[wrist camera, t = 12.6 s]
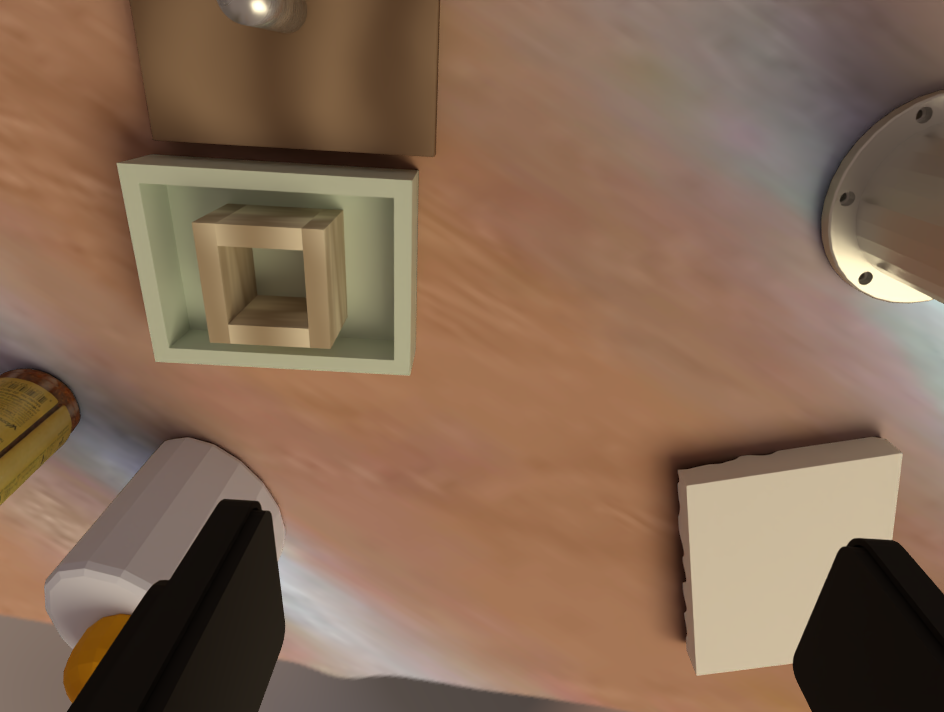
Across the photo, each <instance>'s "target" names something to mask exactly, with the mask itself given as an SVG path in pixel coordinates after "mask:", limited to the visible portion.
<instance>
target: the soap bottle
mask: <svg viewBox="0 0 944 712" xmlns="http://www.w3.org/2000/svg"><path fill="white" fill-rule="evenodd" d="M223 499H235V500H251V501H259V503H260V504H261V507H262V510H266V511H270V512H271V514H272V520H273V528H274V536H275V545H276V553H277V561H278V560H279V558H280V555H281V553H282V550H283V545H284V540H285V534H286V531H285V527H284V523H283V520H282V516H281V513H280V509H279V506H278V505H277V503H276V502H275V500H274V499H273V497H272V496H271V494H270V492H269V491H268V489H267V488H266V486H265V485H264V483H263V482H262V481H261V480H260V479H259V478H258V477H257V476H256V475H255V474H254V473H253V472H252V471H251V470H250V469H249V468H248V467H247V466H246V465H245V464H243V463H242V462H241V461H240V460H239V459H237V458H235V457H234V456H232V455H231V454H229V453H227V452H226V451H224V450H222V449H221V448H219V447H218V446H216V445H214V444H211V443H208V442H204V441H201V440H197V439H194V438H190V437H185V438H178V439H171V440H167V441H164V442H163V444H162V445H161V446H160V447H159V448H158V449H157V450H156V451H155V452H154V453H153V454H152V456H151V457H150V458H149V459H148V460H147V462H146V463H145V464H144V465H143V466H142V467H141V469H140V470H139V471H138V472H137V473H136V474H135V476H134V477H133V478H132V479H131V480H130V481H129V483H128V484H127V485H126V486H125V487H124V489H123V490H122V491H121V492H120V493H119V494H118V496H117V497H116V498H115V499H114V500H113V501H112V503H111V504H110V505H109V506H108V507H107V509H106V510H105V511H104V512H103V513H102V514H101V516H100V517H99V518H98V519H97V520H96V521H95V523H94V524H93V525H92V526H91V527H90V529H89V530H88V531H87V532H86V533H85V534H84V536H83V537H82V538H81V539H80V540H79V541H78V543H77V544H76V545H75V546H74V547H73V549H72V550H71V551H70V552H69V553H68V554H67V556H66V557H65V558H64V559H63V560H62V561H61V563H60V564H59V565H58V566H57V567H56V568H55V570H54V571H53V572H52V573H51V574H50V576H49V577H48V578H47V579H46V582H45V586H44V588H45V608H46V611H47V613H48V615H49V617H50V618H51V620H52V622H53V624H54V626H55V627H56V629H57V631H58V633H59V635H60V637H61V638H62V639H63V640H64V641H65V642H66V643H67V644H68V645H69V646H70V647H71V648H72V649H73V651H72V653H71V655H70V657H69V659H68V662H67V664H66V667H65V670H64V681H63V682H64V686H65V690H66V693H67V695H68V697H69V699H70V701H71V702H72V703H73V702H74V700H75V699H76V697H77V696H78V694H79V693H80V691H81V690H82V688H83V687H84V685H85V684H86V682H87V681H88V679H89V678H90V676H91V675H92V673H93V672H94V670H95V669H96V667H97V666H98V664H99V663H100V661H101V660H102V658H103V657H104V655H105V654H106V652H107V651H108V649H109V648H110V646H111V645H112V643H113V642H114V640H115V639H116V637H117V636H118V634H119V633H120V631H121V630H122V628H123V627H124V625H125V624H126V622H127V621H128V619H129V618H130V616H131V615H132V613H133V612H134V610H135V609H136V607H137V606H138V604H139V603H140V601H141V600H142V598H143V597H144V595H145V594H146V592H147V591H148V590H149V589H150V587H151V586H152V585H153V584H155V583H156V582H158V581H159V580H170V578H171V577H172V575H173V573H174V572H175V570H176V569H177V567H178V566H179V564H180V562H181V561H182V559H183V558H184V556H185V555H186V553H187V551H188V550H189V548H190V547H191V545H192V543H193V542H194V540H195V539H196V537H197V536H198V534H199V532H200V531H201V529H202V528H203V526H204V525H205V523H206V521H207V520H208V518H209V517H210V515H211V514H212V512H213V510H214V509H215V507H216V506H217V504H218V503H219V502H220V501H221V500H223Z"/></svg>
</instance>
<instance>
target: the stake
mask: <svg viewBox="0 0 944 712" xmlns="http://www.w3.org/2000/svg"><path fill="white" fill-rule="evenodd" d="M217 3H218V5H219V7H220V8H221V10H222V11H223V13H224V14H225V15H226V16H227V17H228V18H229V19H231V20H232V21H234V22H236V23H238V24H241V25H246V26H251V27H256V28H261V29H266V30H271V31H276V32H281V33H293V32H295V31H297V30H299V29H300V28H301V27H302V25H303V24H304V22H305V20H306V17H307V4H306V0H217Z"/></svg>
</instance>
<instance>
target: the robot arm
mask: <svg viewBox="0 0 944 712" xmlns="http://www.w3.org/2000/svg"><path fill="white" fill-rule="evenodd" d="M916 114H917V115H916ZM842 194H843V196H842ZM841 196H842V198H841V199H840V197H841ZM821 228H822V241H823V245H824V249H825V253H826V256H827V258H828V260H829V262H830V263H831V265H832V267H833V269H834V270H835V272H836V273H837V274H838V275H839V276H840V277H841V278H842V279H843V280H844V281H845V282H846V283H848V284H849V285H851V286H852V287H854V288H855V289H857V290H858V291H860V292H862V293H864V294H866V295H868V296H870V297H872V298H875V299H879V300H883V301H886V302H892V303H916V302H924V301H930V300H933V299H935V300H937V301H939V302H941V303H943V304H944V90H940V91H937V92H934V93H931V94H928V95H924V96H921V97H918V98H916V99H914V100H912V101H910V102H908V103H906V104H904V105H902V106H900V107H899V108H897V109H895V110H893V111H892V112H891V113H889V114H888V115H887V116H885V117H884V118H882V119H881V120H880V121H878V122H877V123H876V124H874V125H873V126H872V127H871V128H870V129H869V130H868V131H867V132H866V133H865V134H864V135H863V136H862V137H861V138H860V139H859V140H858V141H857V142H856V143H855V145H854V146H853V147H852V149H851V150H850V151H849V153H848V154H847V155H846V157H845V158H844V159H843V161H842V162H841V164H840V166H839V168H838V170H837V171H836V173H835V175H834V177H833V179H832V181H831V184H830V186H829V189H828V192H827V195H826V198H825V201H824V207H823V213H822V218H821ZM284 634H285V619H284V610H283V602H282V594H281V586H280V578H279V569H278V561H277V553H276V545H275V536H274V528H273V520H272V514H271V512H270V511H266V510H262V507H261V504H260V503H259V501H251V500H235V499H223V500H221V501H220V502H219V503H218V504H217V506H216V507H215V509H214V510H213V512H212V514H211V515H210V517H209V518H208V520H207V521H206V523H205V525H204V526H203V528H202V529H201V531H200V532H199V534H198V536H197V537H196V539H195V540H194V542H193V543H192V545H191V547H190V548H189V550H188V551H187V553H186V555H185V556H184V558H183V559H182V561H181V562H180V564H179V566H178V567H177V569H176V570H175V572H174V573H173V575H172V577H171V578H170V580H159V581H158V582H156V583H155V584H153V585H152V586H151V587H150V589H149V590H148V591H147V592H146V594H145V595H144V597H143V598H142V600H141V601H140V603H139V604H138V606H137V607H136V609H135V610H134V612H133V613H132V615H131V616H130V618H129V619H128V621H127V622H126V624H125V625H124V627H123V628H122V630H121V631H120V633H119V634H118V636H117V637H116V639H115V640H114V642H113V643H112V645H111V646H110V648H109V649H108V651H107V652H106V654H105V655H104V657H103V658H102V660H101V661H100V663H99V664H98V666H97V667H96V669H95V670H94V672H93V673H92V675H91V676H90V678H89V679H88V681H87V682H86V684H85V685H84V687H83V688H82V690H81V691H80V693H79V694H78V696H77V697H76V699H75V700H74V702H73V703H72V705H71V706H70V708H69V709H68V711H67V712H258V711H259V708H260V705H261V702H262V700H263V697H264V694H265V691H266V689H267V686H268V683H269V681H270V677H271V675H272V672H273V669H274V667H275V664H276V661H277V659H278V656H279V653H280V650H281V647H282V644H283V640H284ZM793 671H794V675H795V678H796V680H797V683H798V685H799V687H800V689H801V691H802V693H803V695H804V697H805V699H806V701H807V703H808V705H809V707H810V709H811V711H812V712H944V594H943V593H942V592H941V591H940V589H939V588H938V587H937V586H936V585H935V584H934V582H933V581H932V580H931V579H930V578H929V577H928V576H927V574H926V573H925V572H924V571H923V570H922V569H921V567H920V566H919V565H918V564H917V563H916V562H915V560H914V559H913V558H912V557H911V556H910V555H909V554H908V552H907V551H906V550H905V549H904V548H903V547H902V546H901V545H900V544H899V543H898V542H895V541H893V540H884V539H868V538H854V539H852V540H851V541H849V543H848V544H847V546H843V547H841V548H840V549H839V551H838V552H837V555H836V557H835V559H834V562H833V564H832V566H831V569H830V571H829V573H828V576H827V578H826V580H825V583H824V585H823V587H822V590H821V592H820V595H819V597H818V599H817V602H816V604H815V606H814V609H813V611H812V613H811V616H810V618H809V620H808V623H807V625H806V628H805V630H804V632H803V635H802V637H801V639H800V642H799V644H798V646H797V649H796V651H795V653H794V657H793Z"/></svg>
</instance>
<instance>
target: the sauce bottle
mask: <svg viewBox="0 0 944 712" xmlns="http://www.w3.org/2000/svg"><path fill="white" fill-rule="evenodd" d="M79 420H80V412H79V407H78V404H77V402H76V399H75V397H74V395H73V393H72V392H71V390H70V389H69V388H68V387H67V386H66V385H65V384H63V382H62V381H59V380H58V379H56V378H54V377H53V376H51V375H50V374H48V373H45V372H42V371H39V370H33V369H29V368H28V369H16V370H12V371H8V372H5V373H3V374H1V375H0V505H1V504H2V503H3V502H4V501H5V500H6V499H7V498H8V497H9V496H10V495H11V494H13V493H14V492H15V491H16V490H17V489H18V488H19V487H20V486H21V485H22V484H23V483H24V482H25V481H26V480H27V479H28V478H29V477H30V476H31V475H32V474H33V473H34V472H35V471H36V470H37V469H38V468H39V467H40V466H41V465H42V464H43V463H44V462H45V461H46V460H47V459H49V458H50V457H51V456H52V455H53V454H54V453H55V452H56V451H57V450H58V449H59V448H60V447H61V446H62V445H63V444H64V443H65V442H66V440H67V439H68V437H69V435H70V433H71V432H72V431H73V430H74V428H75V427H76V425H77V424H78V423H79Z"/></svg>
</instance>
